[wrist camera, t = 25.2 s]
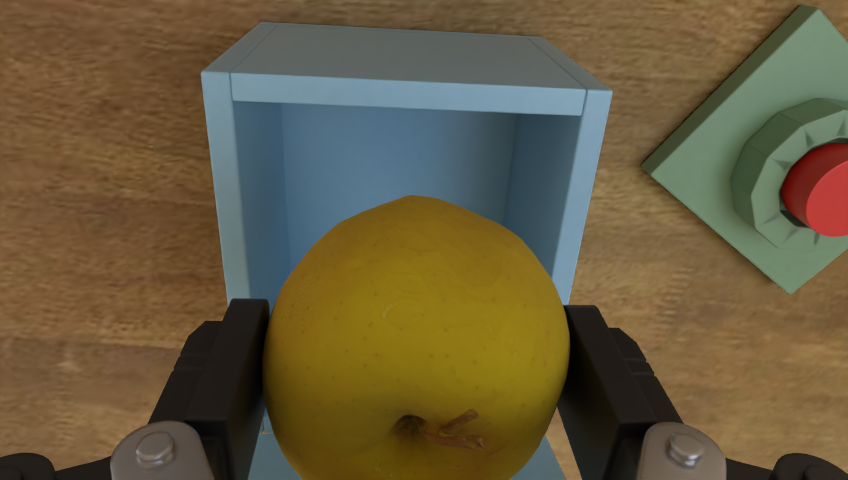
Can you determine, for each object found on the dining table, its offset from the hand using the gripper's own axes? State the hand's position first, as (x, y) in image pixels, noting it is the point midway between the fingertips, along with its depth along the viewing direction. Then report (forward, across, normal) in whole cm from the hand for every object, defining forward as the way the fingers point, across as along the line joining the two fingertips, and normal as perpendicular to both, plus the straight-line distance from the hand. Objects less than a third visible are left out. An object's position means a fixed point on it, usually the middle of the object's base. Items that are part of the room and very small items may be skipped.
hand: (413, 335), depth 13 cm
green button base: (+15, -18, +1) cm, 24 cm away
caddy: (+15, 0, +3) cm, 15 cm away
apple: (+4, 0, 0) cm, 4 cm away
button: (+12, -18, +1) cm, 22 cm away
